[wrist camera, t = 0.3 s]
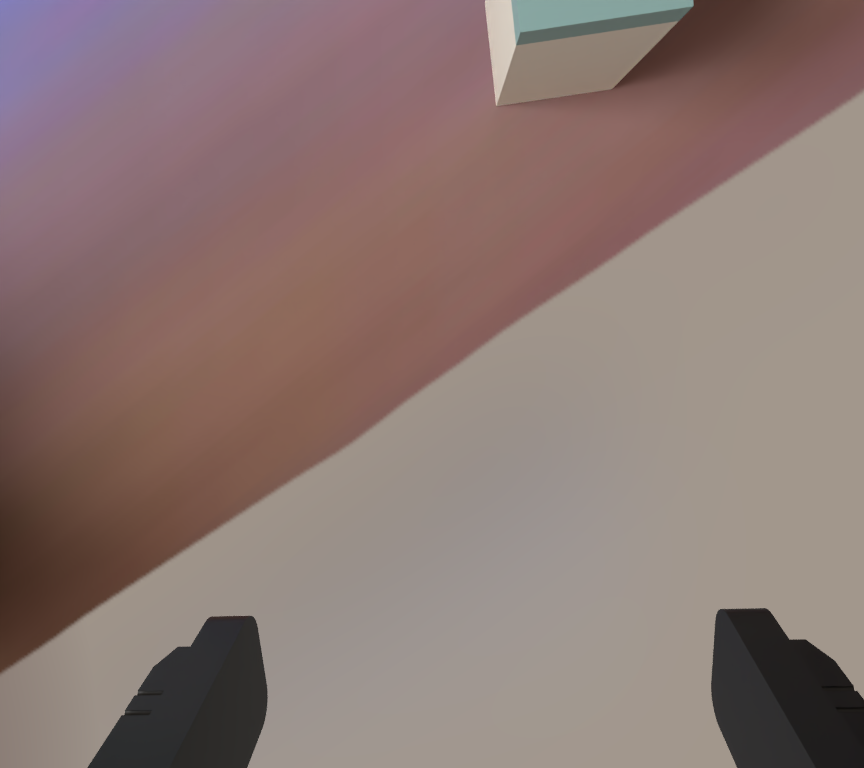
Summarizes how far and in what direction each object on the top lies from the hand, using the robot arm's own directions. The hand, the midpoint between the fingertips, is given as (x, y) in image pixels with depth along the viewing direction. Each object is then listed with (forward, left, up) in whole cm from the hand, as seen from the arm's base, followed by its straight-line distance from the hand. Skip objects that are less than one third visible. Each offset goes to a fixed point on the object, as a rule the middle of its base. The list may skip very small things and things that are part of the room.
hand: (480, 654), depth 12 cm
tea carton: (-17, +7, -27) cm, 32 cm away
